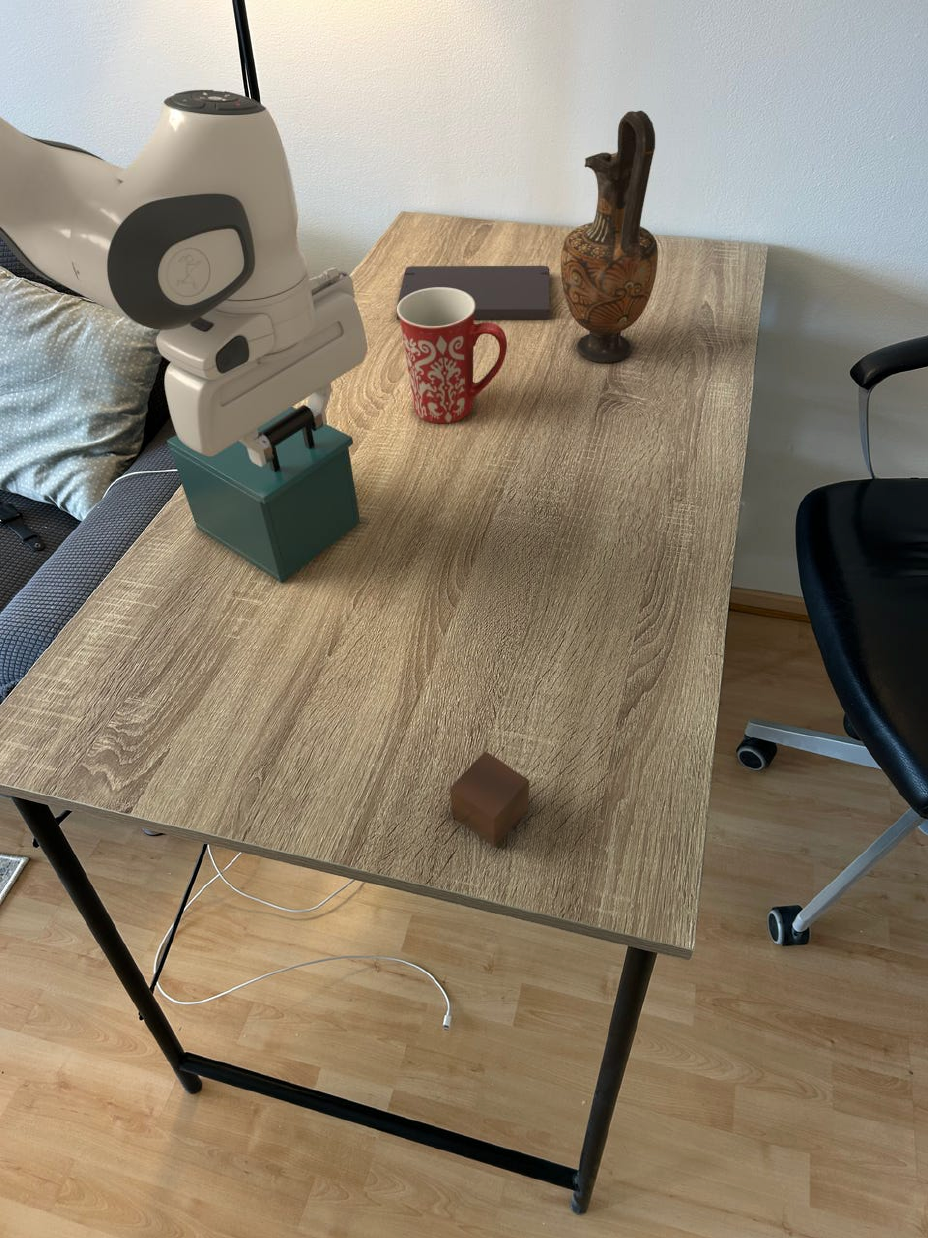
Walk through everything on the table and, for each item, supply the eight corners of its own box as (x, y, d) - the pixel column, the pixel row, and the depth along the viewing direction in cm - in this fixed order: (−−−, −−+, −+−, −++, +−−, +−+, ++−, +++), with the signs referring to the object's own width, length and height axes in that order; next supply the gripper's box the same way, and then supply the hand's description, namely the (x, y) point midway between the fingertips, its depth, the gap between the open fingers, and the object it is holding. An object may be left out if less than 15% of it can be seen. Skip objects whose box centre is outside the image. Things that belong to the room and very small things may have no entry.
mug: (395, 422, 109) (384, 320, 99) (420, 382, 115) (412, 281, 105) (494, 438, 106) (493, 335, 96) (515, 396, 112) (516, 295, 102)
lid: (353, 443, 89) (346, 398, 85) (265, 504, 83) (253, 459, 79) (256, 393, 95) (246, 349, 91) (168, 447, 89) (153, 402, 85)
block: (494, 848, 70) (494, 819, 67) (452, 817, 72) (449, 787, 69) (528, 809, 73) (529, 780, 69) (486, 780, 75) (485, 750, 71)
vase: (623, 320, 123) (648, 76, 101) (664, 366, 115) (701, 112, 93) (543, 336, 121) (552, 91, 99) (580, 385, 113) (598, 129, 91)
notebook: (397, 319, 126) (549, 319, 124) (395, 309, 124) (549, 308, 123) (406, 275, 134) (549, 275, 133) (405, 265, 133) (549, 265, 132)
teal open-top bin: (360, 523, 97) (347, 441, 89) (281, 583, 91) (259, 501, 83) (276, 474, 103) (256, 394, 95) (196, 528, 97) (169, 447, 89)
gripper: (323, 250, 81) (343, 382, 91) (137, 347, 71) (184, 484, 81) (373, 269, 78) (388, 404, 89) (188, 373, 68) (229, 512, 78)
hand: (289, 443), depth 85 cm, fingers closed on lid, 5 cm apart
